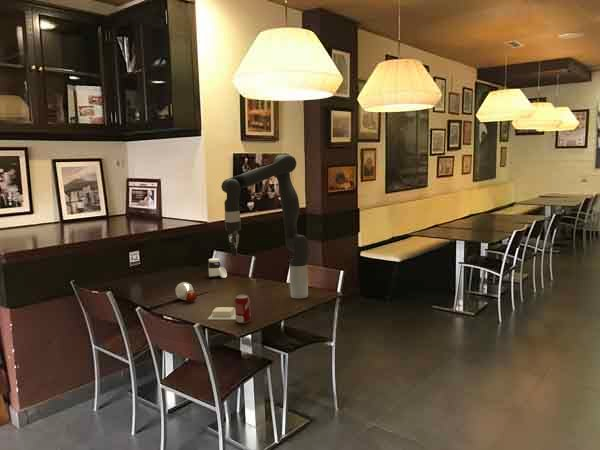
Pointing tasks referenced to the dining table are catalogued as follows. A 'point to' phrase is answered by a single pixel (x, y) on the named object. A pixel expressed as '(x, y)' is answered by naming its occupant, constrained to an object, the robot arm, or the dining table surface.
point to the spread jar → (216, 269)
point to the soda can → (242, 309)
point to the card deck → (223, 311)
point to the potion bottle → (185, 292)
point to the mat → (222, 317)
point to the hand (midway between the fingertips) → (234, 255)
